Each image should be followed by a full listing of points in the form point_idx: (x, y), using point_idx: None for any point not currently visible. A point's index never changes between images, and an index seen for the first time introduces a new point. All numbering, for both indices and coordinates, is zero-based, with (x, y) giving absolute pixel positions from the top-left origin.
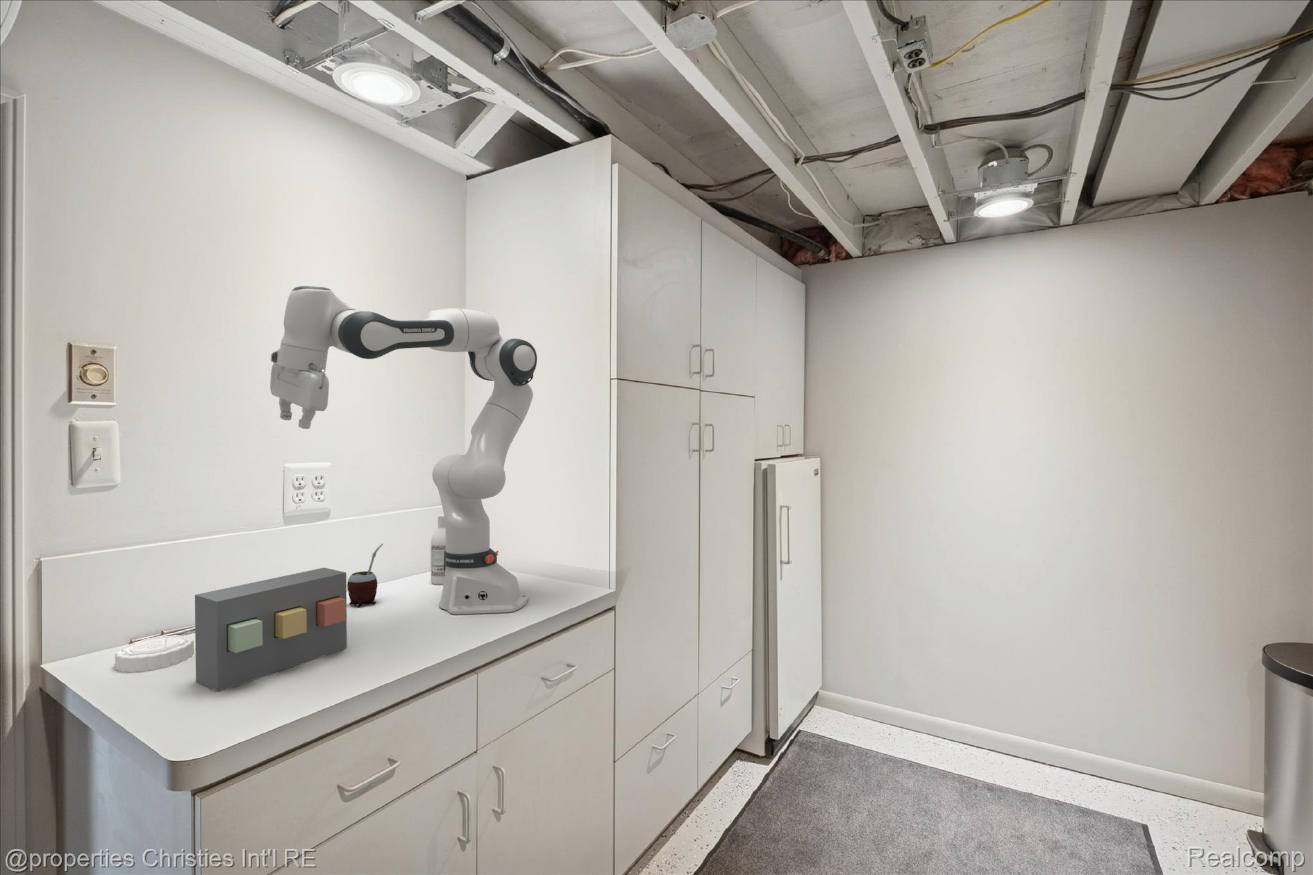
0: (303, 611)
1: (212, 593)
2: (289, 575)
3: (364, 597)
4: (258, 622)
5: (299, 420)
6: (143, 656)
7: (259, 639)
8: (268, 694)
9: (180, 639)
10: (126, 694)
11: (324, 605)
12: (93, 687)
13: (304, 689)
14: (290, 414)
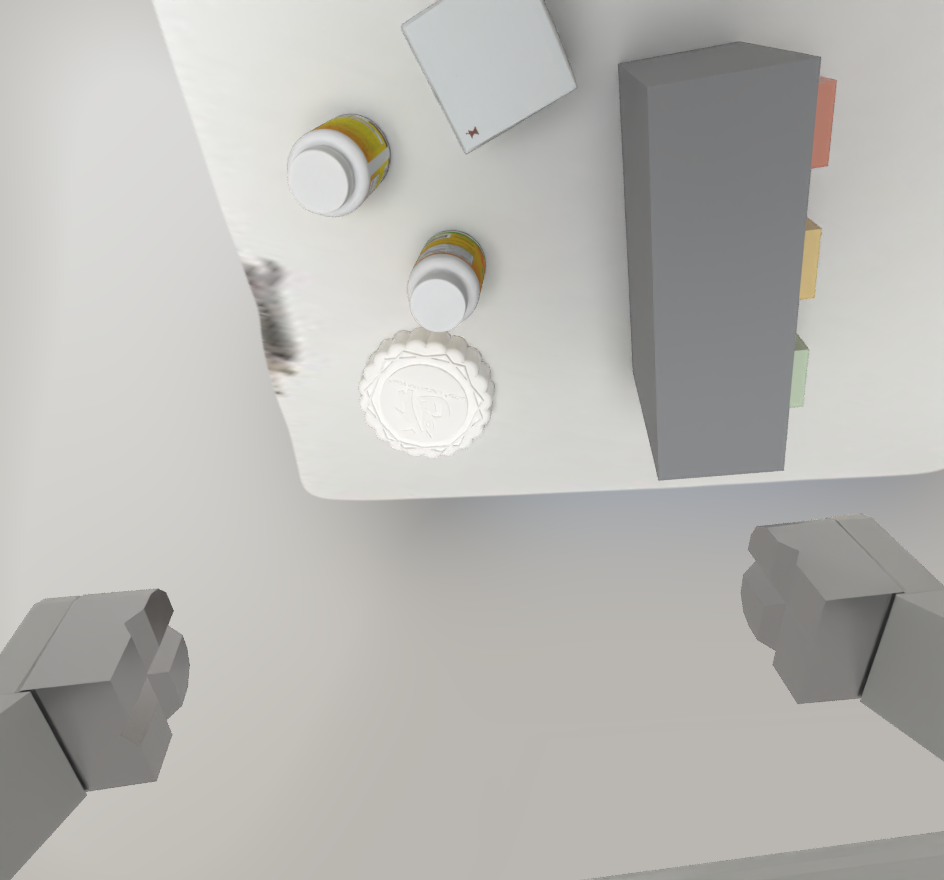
0: (818, 236)
1: (685, 453)
2: (661, 238)
3: None
4: (807, 357)
5: (799, 686)
6: (482, 432)
7: None
8: (841, 305)
9: (417, 361)
10: (589, 457)
11: (826, 165)
12: (505, 480)
13: (896, 246)
14: (128, 667)
